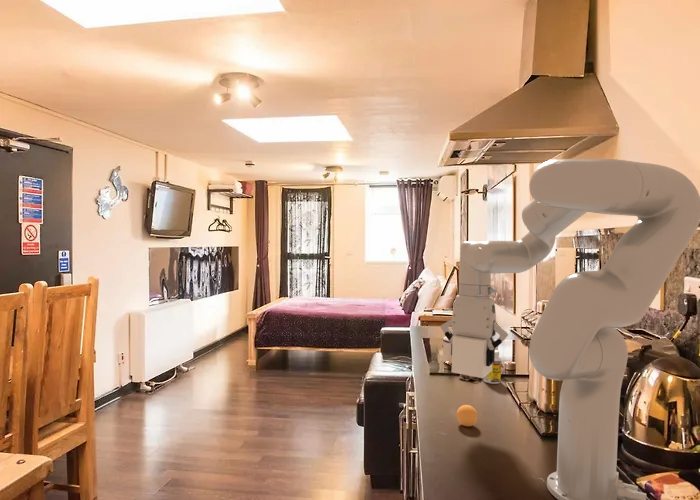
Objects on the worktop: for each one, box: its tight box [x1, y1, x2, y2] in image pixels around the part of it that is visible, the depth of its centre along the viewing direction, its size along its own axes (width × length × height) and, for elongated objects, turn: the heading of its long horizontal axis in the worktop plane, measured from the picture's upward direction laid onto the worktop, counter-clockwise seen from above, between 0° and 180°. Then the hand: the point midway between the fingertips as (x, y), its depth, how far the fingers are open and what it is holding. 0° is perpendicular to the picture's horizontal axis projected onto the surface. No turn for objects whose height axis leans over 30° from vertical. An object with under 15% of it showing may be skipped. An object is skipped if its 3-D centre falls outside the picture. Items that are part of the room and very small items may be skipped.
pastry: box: [458, 374, 481, 384], centre depth 149 cm, size 7×12×4 cm, turn 156°
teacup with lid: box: [442, 332, 454, 363], centre depth 166 cm, size 12×9×12 cm
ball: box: [456, 404, 479, 427], centre depth 109 cm, size 5×5×5 cm
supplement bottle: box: [482, 349, 502, 385], centre depth 144 cm, size 6×6×10 cm
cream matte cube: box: [450, 335, 494, 379], centre depth 110 cm, size 8×8×9 cm
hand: (472, 361), depth 110 cm, fingers closed on cream matte cube, 7 cm apart
